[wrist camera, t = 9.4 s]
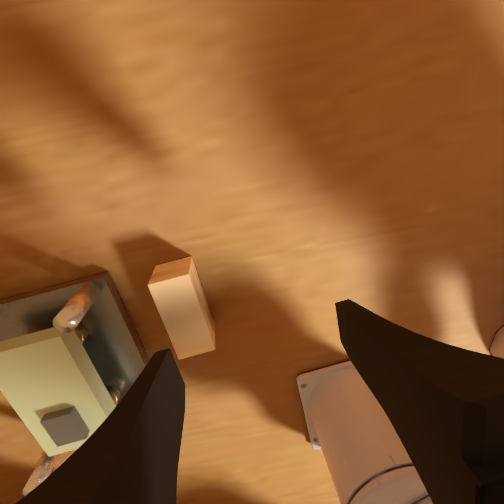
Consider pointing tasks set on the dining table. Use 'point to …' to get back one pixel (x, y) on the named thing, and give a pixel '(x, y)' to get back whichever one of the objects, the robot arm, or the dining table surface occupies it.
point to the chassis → (80, 335)
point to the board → (53, 388)
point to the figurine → (498, 344)
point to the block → (183, 307)
